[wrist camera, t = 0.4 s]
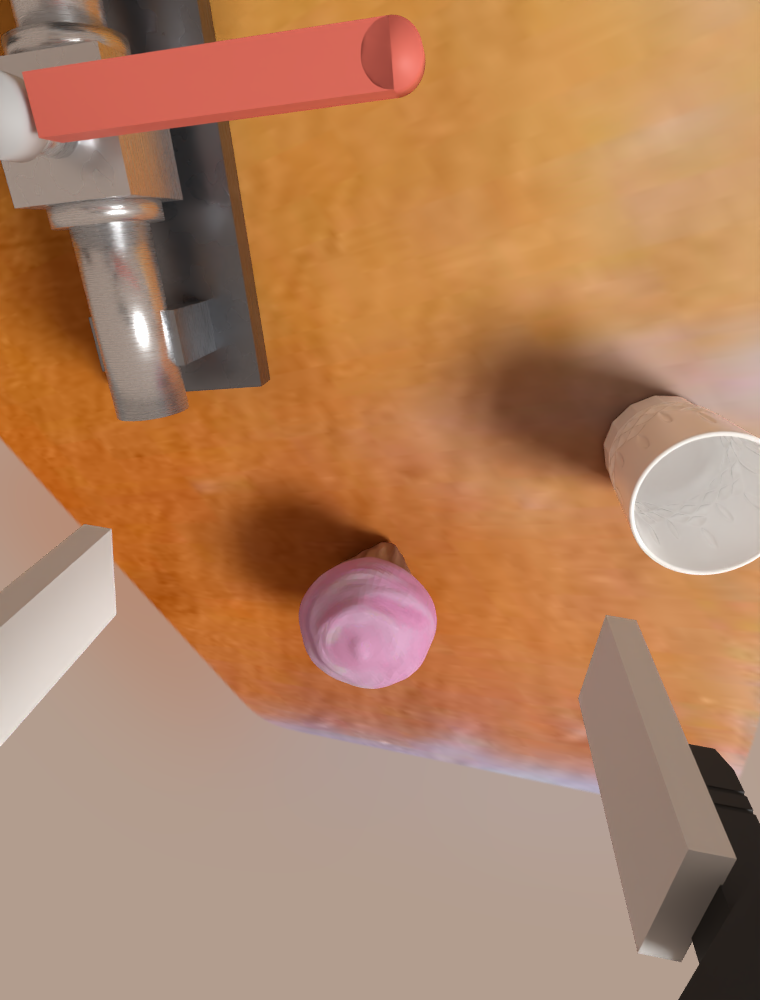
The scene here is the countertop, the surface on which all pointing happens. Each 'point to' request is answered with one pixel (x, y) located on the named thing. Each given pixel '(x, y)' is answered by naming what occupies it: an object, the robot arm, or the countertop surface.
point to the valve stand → (145, 215)
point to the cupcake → (368, 619)
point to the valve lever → (210, 83)
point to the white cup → (686, 484)
